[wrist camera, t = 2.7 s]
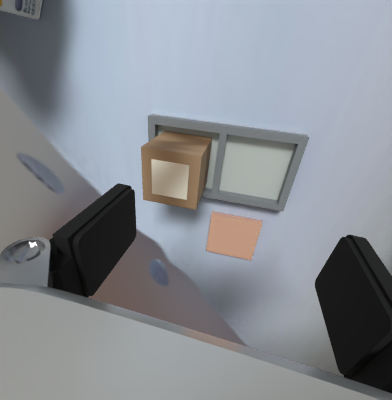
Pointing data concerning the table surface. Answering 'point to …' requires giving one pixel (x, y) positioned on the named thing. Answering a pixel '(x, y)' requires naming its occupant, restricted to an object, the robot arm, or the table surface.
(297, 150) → the cubby strip
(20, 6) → the container
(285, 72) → the table surface
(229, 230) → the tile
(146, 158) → the brown labeled box
